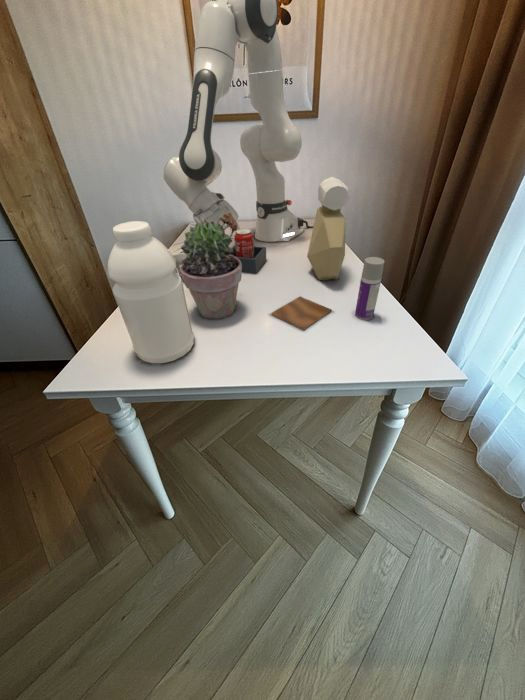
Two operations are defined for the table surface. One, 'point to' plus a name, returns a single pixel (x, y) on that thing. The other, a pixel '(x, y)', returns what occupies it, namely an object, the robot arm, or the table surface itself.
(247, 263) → the bin
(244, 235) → the beverage can
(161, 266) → the bottle
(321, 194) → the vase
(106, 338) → the table surface
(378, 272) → the container
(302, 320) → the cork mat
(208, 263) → the potted plant
